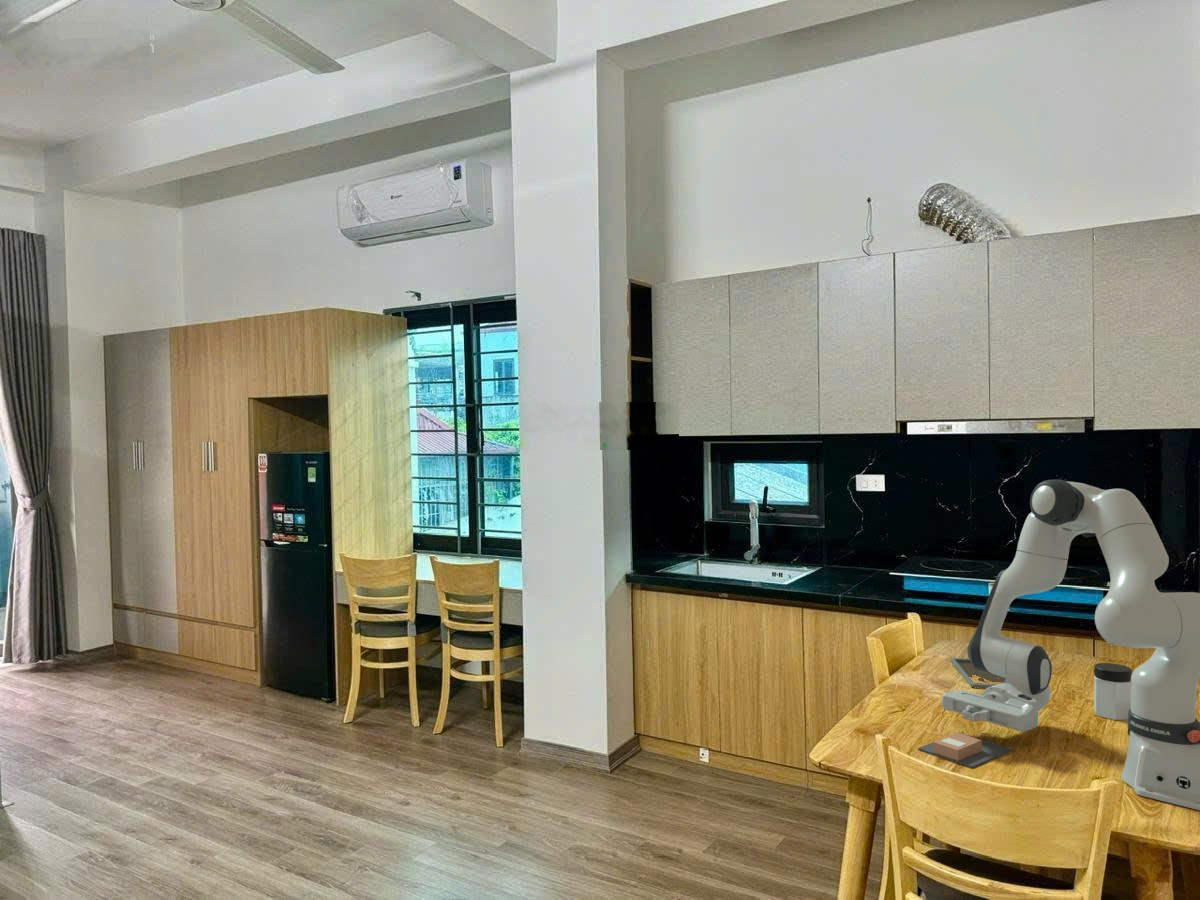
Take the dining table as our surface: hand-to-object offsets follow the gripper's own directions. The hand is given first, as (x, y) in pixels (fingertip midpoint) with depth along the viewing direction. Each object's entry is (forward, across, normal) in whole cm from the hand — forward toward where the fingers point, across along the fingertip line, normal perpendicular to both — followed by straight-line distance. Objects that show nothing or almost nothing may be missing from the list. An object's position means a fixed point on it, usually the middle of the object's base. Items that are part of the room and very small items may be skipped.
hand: (967, 716), depth 194 cm
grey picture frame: (-59, -28, +8) cm, 65 cm away
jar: (-49, +9, +8) cm, 50 cm away
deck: (-1, 0, +6) cm, 6 cm away
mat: (+1, 0, +7) cm, 7 cm away
